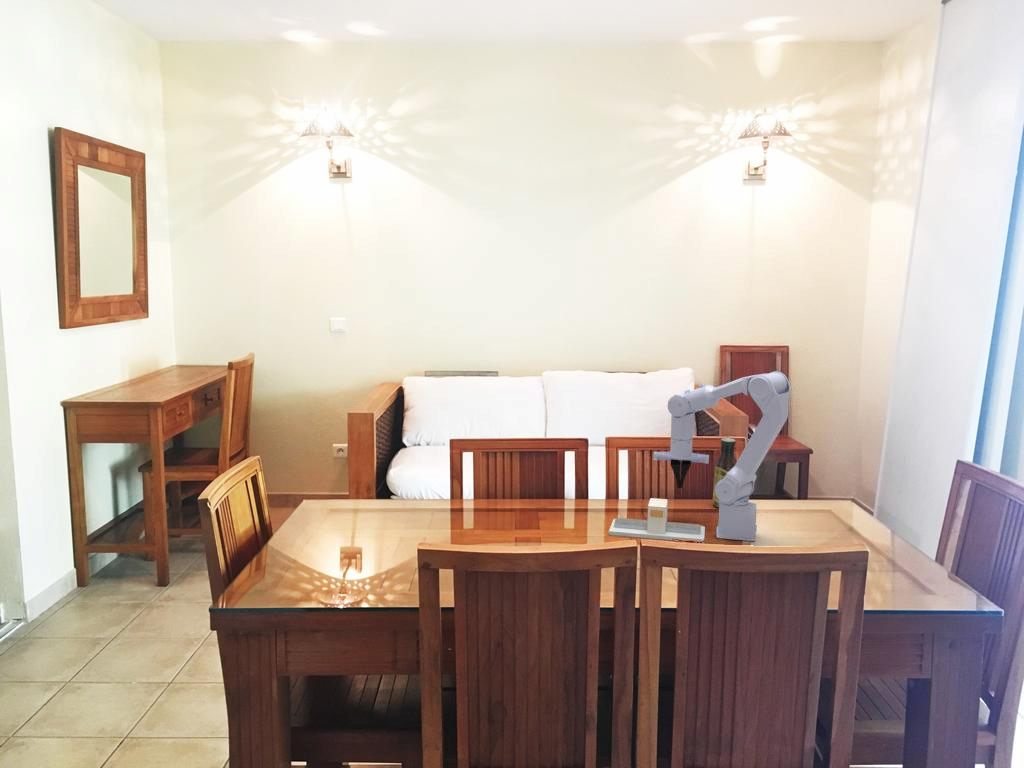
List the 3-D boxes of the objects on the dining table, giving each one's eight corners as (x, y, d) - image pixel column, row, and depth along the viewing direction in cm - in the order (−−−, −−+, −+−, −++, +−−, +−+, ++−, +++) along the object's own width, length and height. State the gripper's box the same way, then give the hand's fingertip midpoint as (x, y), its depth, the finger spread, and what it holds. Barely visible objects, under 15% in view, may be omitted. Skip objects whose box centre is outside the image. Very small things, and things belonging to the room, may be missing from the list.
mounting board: (704, 530, 209) (704, 526, 209) (703, 543, 200) (704, 539, 199) (613, 522, 215) (613, 518, 215) (608, 534, 206) (608, 531, 205)
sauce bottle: (708, 504, 231) (710, 437, 227) (725, 501, 233) (728, 435, 230) (722, 511, 225) (725, 442, 222) (740, 508, 227) (743, 440, 224)
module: (666, 524, 210) (667, 499, 209) (664, 533, 203) (665, 507, 202) (649, 523, 211) (650, 498, 210) (647, 532, 204) (647, 506, 203)
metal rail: (700, 530, 206) (700, 524, 206) (700, 534, 203) (700, 529, 203) (615, 523, 212) (616, 517, 211) (614, 527, 208) (614, 521, 208)
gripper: (709, 436, 215) (707, 485, 217) (655, 433, 219) (654, 481, 221) (709, 442, 208) (707, 492, 210) (653, 439, 212) (651, 488, 214)
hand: (679, 487), depth 215 cm, fingers closed
